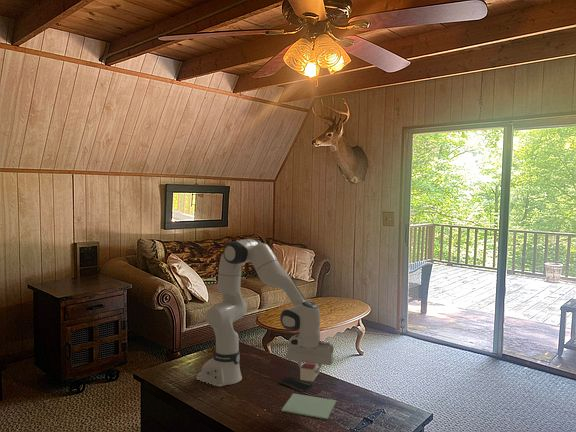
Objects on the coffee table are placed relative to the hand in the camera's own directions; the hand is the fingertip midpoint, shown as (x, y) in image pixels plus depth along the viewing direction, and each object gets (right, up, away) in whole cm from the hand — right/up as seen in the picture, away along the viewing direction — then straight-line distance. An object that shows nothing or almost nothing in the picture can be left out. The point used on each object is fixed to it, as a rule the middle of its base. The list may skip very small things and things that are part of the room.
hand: (309, 371), depth 185 cm
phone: (-5, -15, +22) cm, 27 cm away
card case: (0, -2, 0) cm, 2 cm away
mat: (0, -15, +1) cm, 15 cm away
